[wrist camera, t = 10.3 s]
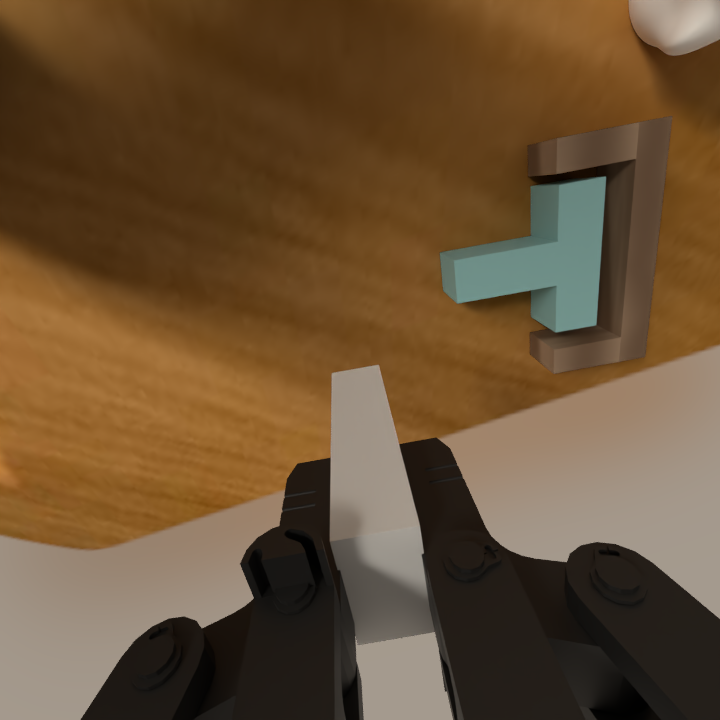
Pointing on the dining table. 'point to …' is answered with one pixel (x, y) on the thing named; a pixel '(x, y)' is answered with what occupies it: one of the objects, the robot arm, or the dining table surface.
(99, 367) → the dining table surface
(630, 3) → the figurine
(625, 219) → the bracket
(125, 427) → the dining table surface
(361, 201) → the dining table surface
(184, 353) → the dining table surface
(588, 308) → the t block
